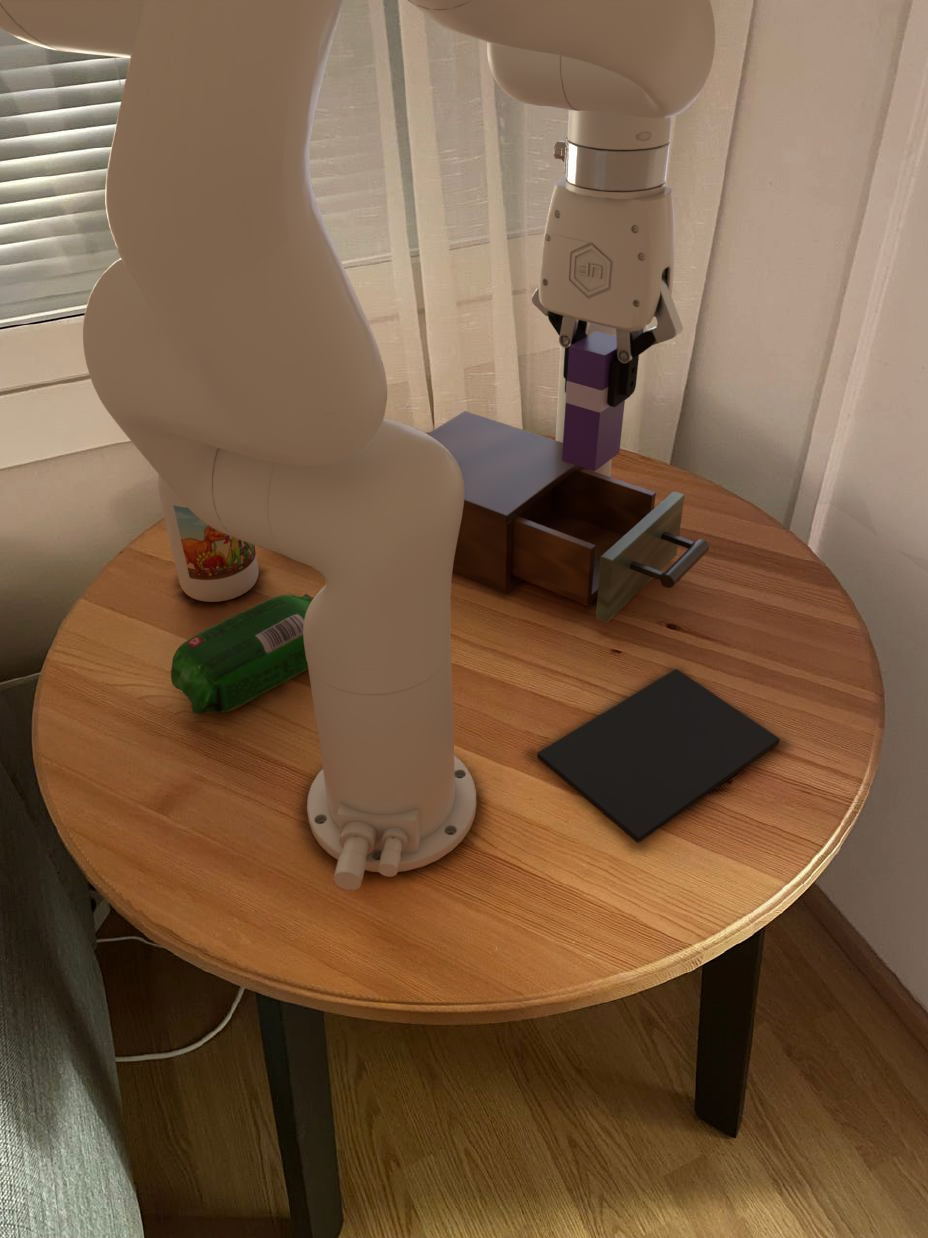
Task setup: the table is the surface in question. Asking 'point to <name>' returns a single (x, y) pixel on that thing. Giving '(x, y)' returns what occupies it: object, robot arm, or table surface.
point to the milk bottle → (206, 553)
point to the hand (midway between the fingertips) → (598, 392)
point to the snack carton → (591, 404)
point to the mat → (657, 753)
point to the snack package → (243, 655)
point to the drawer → (601, 541)
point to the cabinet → (497, 489)
